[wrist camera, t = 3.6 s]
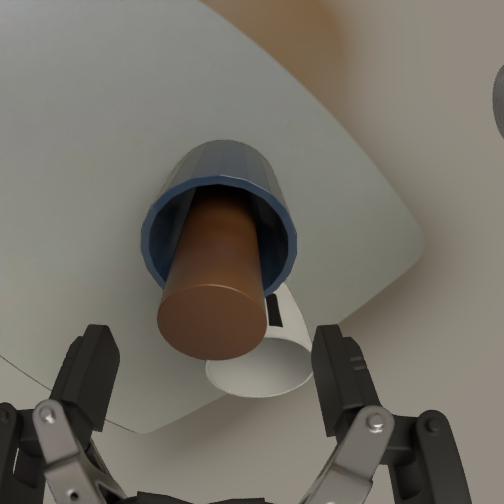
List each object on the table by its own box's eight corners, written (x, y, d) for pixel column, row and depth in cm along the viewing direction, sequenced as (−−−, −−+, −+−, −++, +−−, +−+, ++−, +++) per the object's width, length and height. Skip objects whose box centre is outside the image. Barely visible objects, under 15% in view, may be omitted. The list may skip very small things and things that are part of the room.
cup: (283, 239, 27) (304, 321, 18) (304, 303, 31) (324, 383, 22) (198, 266, 28) (185, 351, 19) (230, 324, 32) (230, 404, 23)
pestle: (237, 158, 22) (238, 267, 10) (260, 207, 24) (282, 344, 12) (186, 182, 23) (135, 306, 11) (210, 227, 25) (192, 369, 13)
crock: (252, 121, 21) (260, 147, 13) (292, 215, 25) (315, 281, 18) (152, 169, 22) (112, 219, 15) (201, 252, 27) (189, 325, 19)
